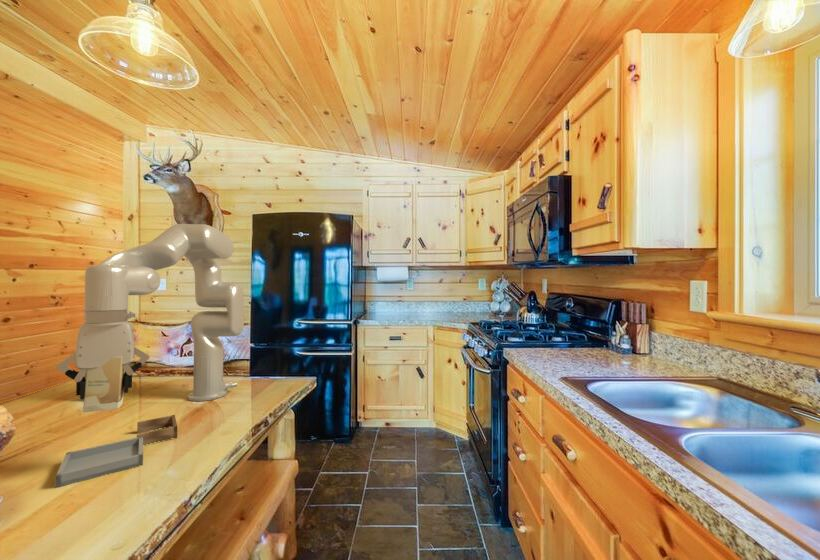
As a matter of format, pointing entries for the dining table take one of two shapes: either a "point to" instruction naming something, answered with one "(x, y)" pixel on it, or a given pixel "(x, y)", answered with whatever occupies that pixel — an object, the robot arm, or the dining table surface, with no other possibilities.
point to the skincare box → (104, 386)
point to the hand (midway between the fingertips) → (105, 393)
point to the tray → (100, 461)
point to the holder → (157, 434)
